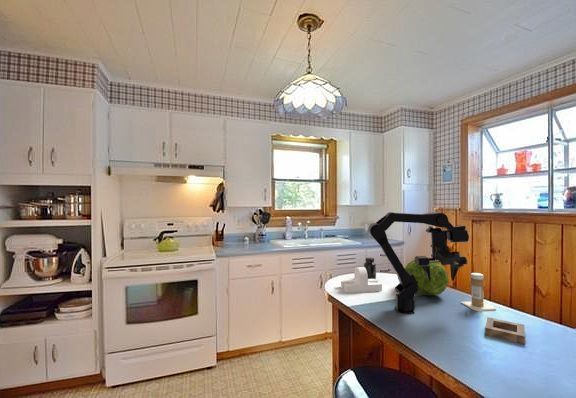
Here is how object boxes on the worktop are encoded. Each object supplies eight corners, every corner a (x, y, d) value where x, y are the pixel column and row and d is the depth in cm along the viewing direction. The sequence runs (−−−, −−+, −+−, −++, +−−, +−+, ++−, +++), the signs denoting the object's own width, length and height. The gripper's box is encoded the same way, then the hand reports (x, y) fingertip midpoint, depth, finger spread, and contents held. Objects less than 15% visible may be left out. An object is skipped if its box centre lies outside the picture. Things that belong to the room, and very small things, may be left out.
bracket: (345, 293, 144) (345, 270, 144) (340, 287, 154) (340, 265, 154) (382, 291, 146) (382, 269, 146) (375, 285, 156) (375, 264, 156)
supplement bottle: (376, 280, 164) (376, 259, 164) (364, 280, 165) (364, 259, 165) (375, 277, 171) (375, 257, 170) (363, 276, 172) (363, 256, 172)
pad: (475, 311, 120) (475, 309, 120) (460, 303, 129) (460, 301, 129) (496, 310, 120) (496, 308, 120) (479, 302, 129) (479, 300, 129)
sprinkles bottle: (486, 305, 124) (485, 274, 123) (479, 307, 122) (479, 275, 121) (475, 302, 128) (474, 271, 128) (468, 304, 126) (468, 273, 126)
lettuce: (422, 285, 156) (413, 253, 158) (460, 291, 134) (449, 255, 136) (396, 295, 150) (387, 262, 152) (432, 303, 128) (421, 265, 130)
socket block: (485, 334, 99) (485, 327, 99) (487, 323, 108) (487, 317, 108) (525, 344, 93) (525, 336, 93) (524, 331, 101) (524, 324, 101)
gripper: (423, 247, 112) (425, 287, 112) (474, 245, 110) (476, 286, 110) (413, 242, 123) (415, 279, 123) (459, 241, 121) (461, 278, 122)
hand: (441, 280), depth 119 cm, fingers open, 9 cm apart
